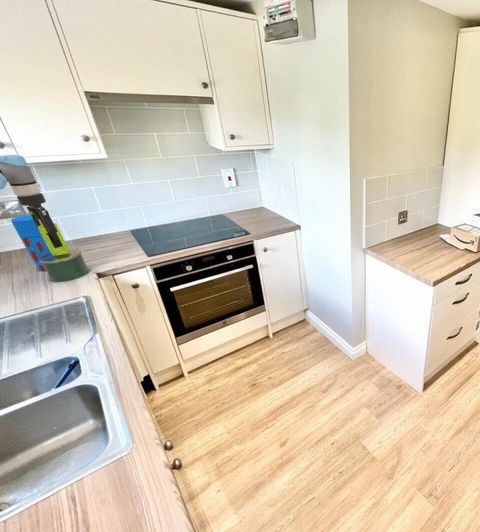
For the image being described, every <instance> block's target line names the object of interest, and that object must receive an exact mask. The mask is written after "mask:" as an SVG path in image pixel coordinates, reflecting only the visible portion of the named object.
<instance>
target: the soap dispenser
mask: <svg viewBox="0 0 480 532" xmlns="http://www.w3.org/2000/svg"><path fill="white" fill-rule="evenodd" d="M31 214H34V213H33V212H32V211H31V212H29V211H28V212H27V213H26V215H31ZM38 220H39V219H38ZM39 222H40V224H41V225H40V226H38V229H39V231H40V233H41V235H42V237H43V239H44V241H45V242H46V244H47V246H48V248H49V250H50V252H51V254H52V255H62V254H65V253H68V252H69V251H70V250H69V249H70V248H69V246H68V244H67V242H66V241H65V239H64V236H63V234H62V233H61V230H60V229H59V227H58V226H59V225H58V224H57V223H55V222H53V223H54V225H55V227H56V229H57V231H58V232H57V235H58V237H59V239H60V241H61V243H62V245H63V246H61V247H58V248H54V246H53V244H52V242H51V240H50V238H49V236H48V235H46V233H48V232H47V231H46V229H45V228H44V226H43V224H42V223H41V221H40V220H39Z"/></svg>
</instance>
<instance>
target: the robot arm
mask: <svg viewBox="0 0 480 532" xmlns="http://www.w3.org/2000/svg"><path fill="white" fill-rule="evenodd" d="M7 183H9V186H10V188H11V190H12V192H13V193H14V196H16V199H17V201H18V203H19V204H20V205H21V206H24V207H26V209H27V211H28V213H29V212H31V211H32V212H33V213H34V214H31V217H32V219H33V221H34V223H35V225H36V226H37V228H38V226H40V225H41V224H40V222H39V220H40V221H41V223H42V224H43V226H44V228H45V229H46V231H47V232H48V233H46V235H48V236H49V238H50V240H51V242H52V244H53V246H54V248H58V247H61V246H63V245H62V243H61V241H60V239H59V237H58V235H57V232H58V231H57V229H56V227H55V225H54V223H55V222H54V221H53V219H52V218H51V216H50V213H49V210H47V209H46V207H44V206H42V204H46V202H47V201H46V197H45V196H44V194H43V193H41V192H42V190H41V188H40V187H41V184H38V182H37V179H36V178H35V176H34V174H33V171H32V169H31V167H30V165H29V164H28V162H27V160H26V159H25V157H24V156H22V155H20V154H6V155H5V154H4V155H0V191H1V190H3V189H5V188H6V186H7ZM38 219H39V220H38Z"/></svg>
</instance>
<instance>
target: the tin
mask: <svg viewBox="0 0 480 532" xmlns="http://www.w3.org/2000/svg"><path fill="white" fill-rule="evenodd" d="M69 250H70V251H69V252H68V253H65V254H62V255H52V254H51V253H48V254H46V255H43V256H42V257H40V258H39V260H40V262H41V263H42V264H43V266H44V267H45V269H46V271H45V272H46V273H47V275H48V276H49V279H50V280H51V281H52V282H55V283H60V282H68V281H73V280H76V279H79V278H81V277H83V276H85V275H87V274H88V273H89V271H90V269H89V267H88V266H87V263H86V262H85V260H84V258H83V255H82V251H81V249H78V248H69Z"/></svg>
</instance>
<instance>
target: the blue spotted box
mask: <svg viewBox="0 0 480 532" xmlns="http://www.w3.org/2000/svg"><path fill="white" fill-rule="evenodd" d="M10 221H11V224H12V226H13V228H14V229H15V232H16V233H17V235H18V236H19V238H20V240H21V242H22V244H23V246H24V247H25V249H26V251H27V252H28V254H29V257H30V258H31V259H32V261H33V263H34V265H35V266H36V268H37V269H38V271H40V272H47V271H46V269H45V267H44V266H43V264H42V263H41V262H40V260H39V258H40V257H42V256H43V255H46V254H48V253H51V252H50V250H49V248H48V246H47V244H46V242H45V241H44V239H43V237H42V235H41V233H40V231H39V229H38V228H37V226H36V225H35V223H34V221H33V219H32V217H31V215H29V214H25V215H24V214H23V215H20V216H15V217H13V218H11V219H10Z"/></svg>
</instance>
